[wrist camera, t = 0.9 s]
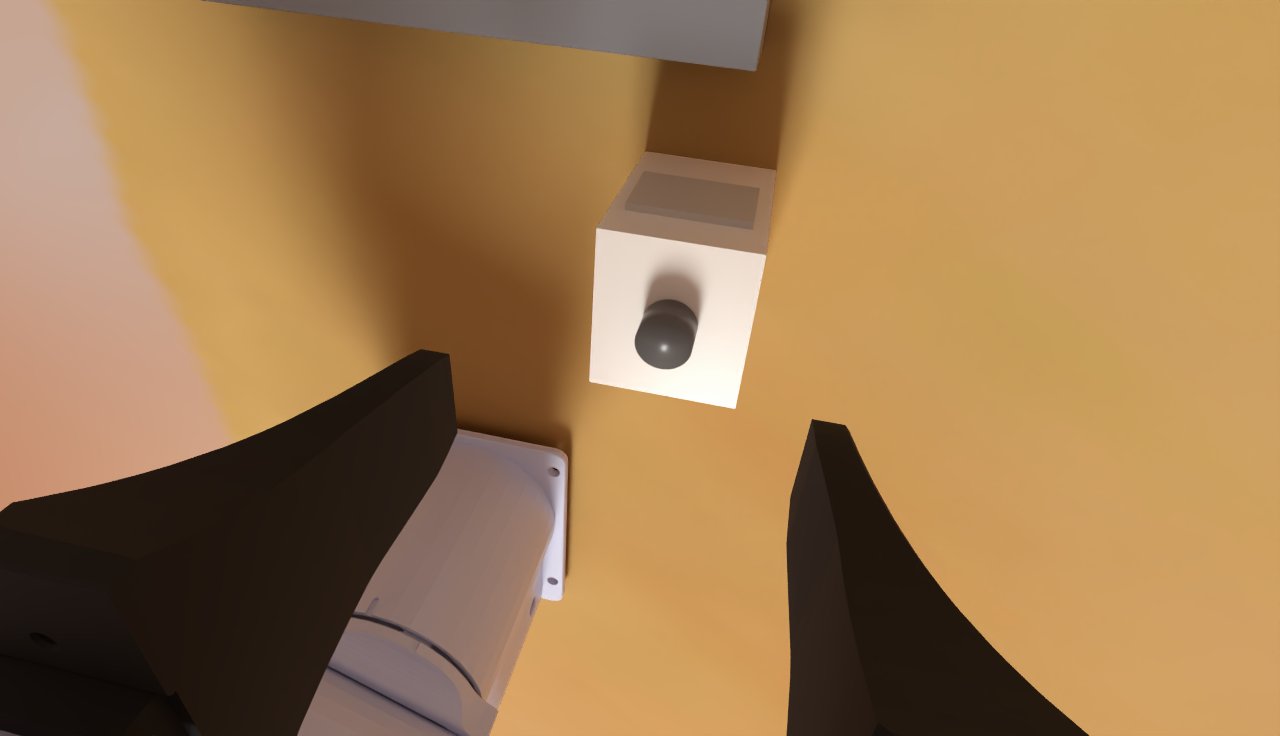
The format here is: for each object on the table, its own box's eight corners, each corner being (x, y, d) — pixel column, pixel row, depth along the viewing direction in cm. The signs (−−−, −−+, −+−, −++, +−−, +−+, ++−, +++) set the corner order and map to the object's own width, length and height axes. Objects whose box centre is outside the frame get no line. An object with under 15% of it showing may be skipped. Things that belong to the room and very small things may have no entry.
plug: (750, 301, 23) (731, 432, 18) (634, 281, 24) (579, 403, 18) (778, 163, 21) (765, 266, 15) (645, 144, 21) (585, 237, 15)
